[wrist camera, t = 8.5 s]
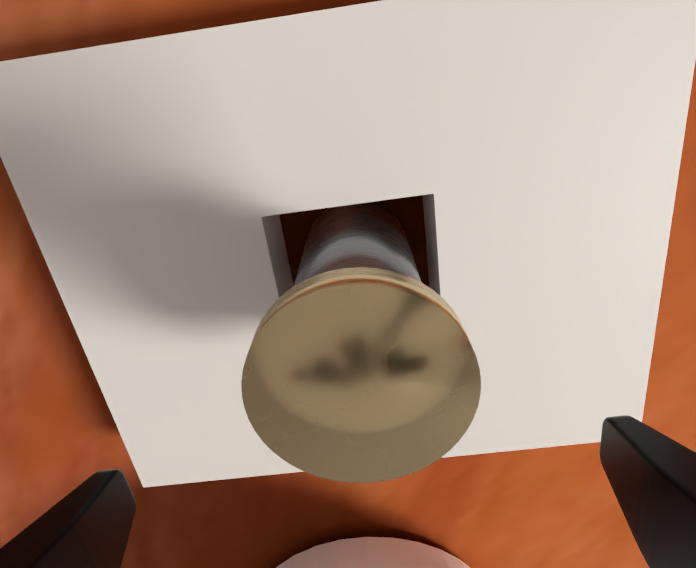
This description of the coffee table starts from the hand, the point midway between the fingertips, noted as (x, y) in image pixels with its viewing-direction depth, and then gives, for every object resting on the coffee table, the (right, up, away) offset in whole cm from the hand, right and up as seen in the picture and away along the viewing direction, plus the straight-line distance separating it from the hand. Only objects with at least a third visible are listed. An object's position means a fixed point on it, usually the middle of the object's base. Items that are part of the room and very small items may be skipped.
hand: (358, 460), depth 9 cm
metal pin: (0, +5, +10) cm, 11 cm away
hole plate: (0, +5, +10) cm, 11 cm away
